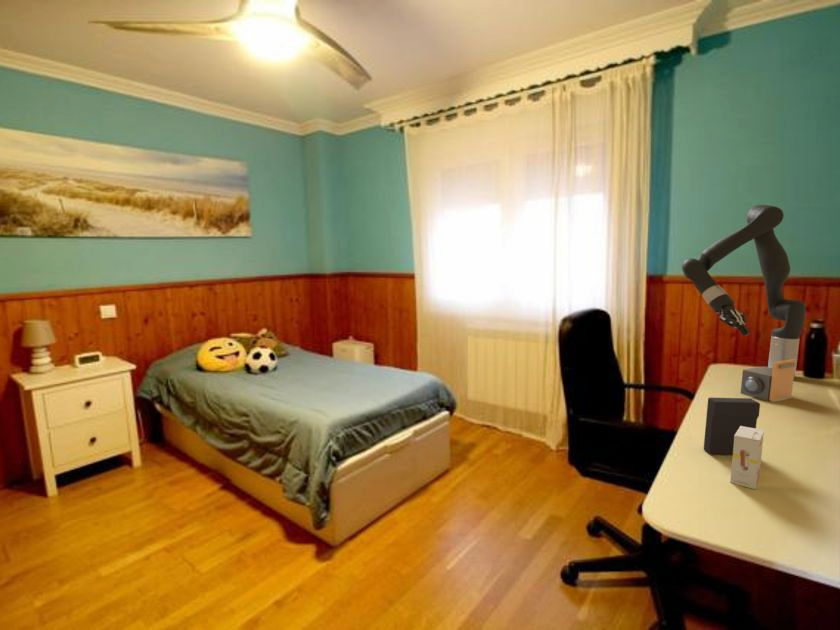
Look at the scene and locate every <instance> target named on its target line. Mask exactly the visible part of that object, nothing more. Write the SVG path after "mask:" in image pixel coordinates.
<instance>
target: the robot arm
mask: <svg viewBox="0 0 840 630" xmlns="http://www.w3.org/2000/svg"><path fill="white" fill-rule="evenodd" d="M783 219H784V211H783V209H781V208H780V207H778V206H774V205H768V204H757V205H754V206H752V207H751V208H750V209H749V210H748V212H747V214H746V221H747V222H746V223H747V224H746V225H745V226H743V227H742V228H740V229H739V230H737V231H734V232H733V233H730V234H728V235H726V236H724V237H721V238H720V239H718V240H716V241H715V242H714V243H712V244H710V245H709V246H708V247H707V248H705V249H704V250H703V251H702V252H701V254H700V256H699V257H698V259H697V258H687V259H686V260H684V262H683V263H682V265H681V269H682V272H683V276H684V277H685V278H686V279H688V280H690V281H691V282H692V283H693V284H694V287H695V289H696V290H697V291H698V292H699V294H700V295H701V296H702V298H703V299H704V301H705V303H707V305H708V306H709V307H710V308H711V309H712V311H713V312H714V313H715V314H718V315H720V316H719V317H718V319H719V321H722V322H723V323H724V324H726V325H728V326H729V327H731V328H735V329H737V330H738V331H739V333H741V335H742V336H743V337H745V336H748V335H750V334H751V331H750V330H749V328H748V327H747V326H746V324H747V323H748V322H747V321H748V320H747V316H746V312H744V311H743V312H739V310H738V309H737V308H736V307H735V304H736V303H735V301H734V300H733V298H731V296H730V295H729V294H728V293H727V291H726V290H725V289H723V287H721V286H720V284H719V283H718V282H717V281H716V280H715V279H714V278H713V277H712V276H711V275H710V273H709V271H710V269H712V267H714V266H715V264H717V263H719V262H720V261H721V260H722V259H724V258H726V257H727V256H728V255H730V254H731V253H733V252H734V251H736V250H738V249H739V248H740V247H742V246H743V245H746V244H747V243H749V242H750V241H752V240H753V241H754V245H755V249H756V252H757V257H758V263H759V267H760V270H761V274H762V278H763V281H764V285H765V292H766V300H767V308H768V313H769V315H770V317H771V319H773V320H777V321H783V322H785V323H784V325H783V326H782V327H778V328H773V329H772V330H771V335H770V336H771V337H770V345H769V346H770V347H769V355H768V362H767V363H768V365H767V367H769V368H773V362H778V361H784V360H790V359H794V360H796V362H795V370H794V378H793V380H794V379H795V378H796V372H797V363H798V355H799V345H800V338H801V337H800V336H801V333H802V332H803V329H804V323H805V318H806V311H807V308H806V303H804V302H803V301H802V300H799V299H789V298H785V297H784V292H783V287H784V284H785V282H786V281H787V279H788V277H789V275H790V272H791V265H790V261H789V257H788V254H787V252H786V249H785V248H784V247H783V245H782V244H781V243H780V241H779V239H778V238H777V236H776V233H775V230H774V229H775V228H776V227H778V226H779V225H780V224H781V223H782V222H783Z"/></svg>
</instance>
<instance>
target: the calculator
mask: <svg viewBox="0 0 840 630" xmlns="http://www.w3.org/2000/svg"><path fill="white" fill-rule="evenodd" d="M706 407H707V408H706V419H705V429H704V430H705V431H704V441H703V450H704V451H705V452H706V453H708V454H709V455H710V456H713V455H714V456H733V447H734V435H735V434H736V432H737V430H738V429H739V427H740V426H744V427H750V428H755V429H757V421H758V418H759V416H760V410H761V409H760V408H761V403H760V402H758V401H756V400H754V399H752V398H749V397H743V398H741V397H708V399H707V406H706Z"/></svg>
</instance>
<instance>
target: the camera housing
mask: <svg viewBox="0 0 840 630" xmlns="http://www.w3.org/2000/svg"><path fill="white" fill-rule="evenodd" d="M772 371H773V368H769V367H768V366H765V365H764V366H757V367H753V368H747V369H742V376H741V385H740V386H741V387H740V394H741V395H745V396H749V397H752V398H756V399H759V400H764V401H769V398H770V389H771V380H772ZM769 402H770V401H769Z"/></svg>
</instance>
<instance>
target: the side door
mask: <svg viewBox="0 0 840 630" xmlns="http://www.w3.org/2000/svg"><path fill="white" fill-rule="evenodd" d="M795 362H796V360H794V359H790V360H784V361H778V362H773V371H772V380H771V389H770V398H769V402H772V403H775V402H780V401H785V400H788V399H793V394H792V393H793V385H794V379H795V378H794V370H795ZM793 378H794V379H793Z"/></svg>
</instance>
